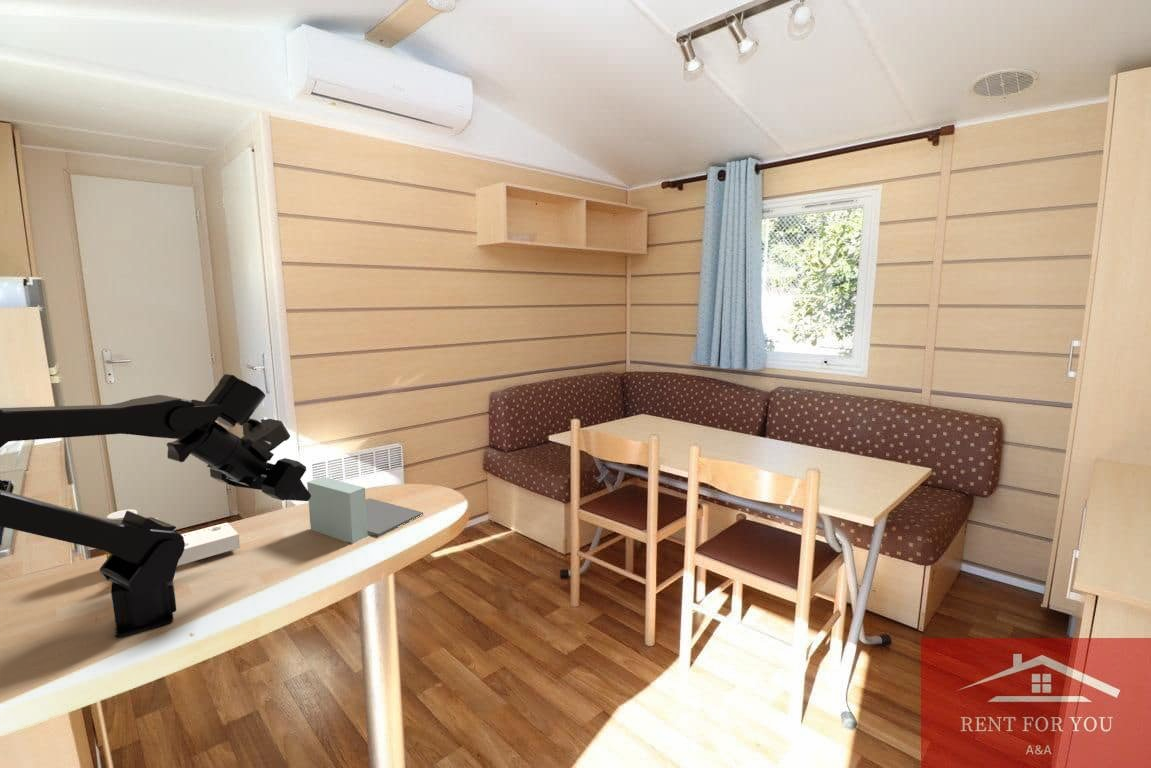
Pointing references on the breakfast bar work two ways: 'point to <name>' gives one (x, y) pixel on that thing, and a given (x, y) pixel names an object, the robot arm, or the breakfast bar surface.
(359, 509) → the grey-green slab
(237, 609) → the breakfast bar surface
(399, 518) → the mat
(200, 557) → the white box
